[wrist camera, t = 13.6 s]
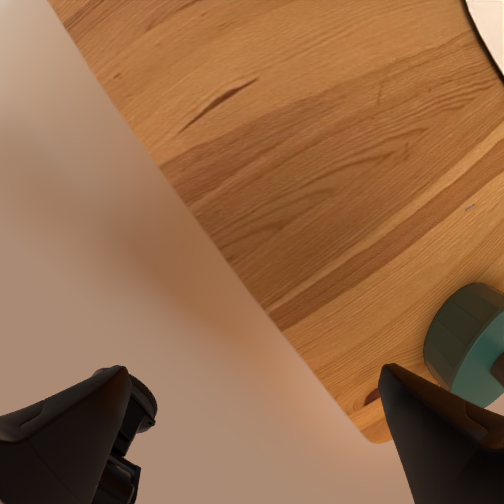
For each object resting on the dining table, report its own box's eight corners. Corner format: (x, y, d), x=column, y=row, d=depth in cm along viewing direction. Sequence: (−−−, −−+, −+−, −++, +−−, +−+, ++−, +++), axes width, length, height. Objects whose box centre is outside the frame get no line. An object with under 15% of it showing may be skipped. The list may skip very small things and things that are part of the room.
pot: (432, 390, 23) (456, 424, 17) (412, 323, 21) (446, 359, 15) (499, 336, 21) (529, 360, 15) (490, 262, 19) (531, 281, 14)
